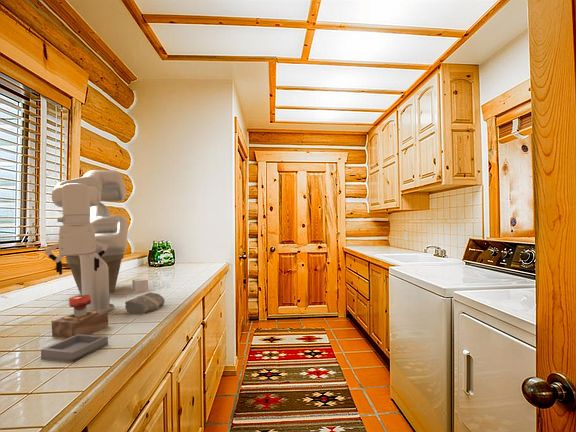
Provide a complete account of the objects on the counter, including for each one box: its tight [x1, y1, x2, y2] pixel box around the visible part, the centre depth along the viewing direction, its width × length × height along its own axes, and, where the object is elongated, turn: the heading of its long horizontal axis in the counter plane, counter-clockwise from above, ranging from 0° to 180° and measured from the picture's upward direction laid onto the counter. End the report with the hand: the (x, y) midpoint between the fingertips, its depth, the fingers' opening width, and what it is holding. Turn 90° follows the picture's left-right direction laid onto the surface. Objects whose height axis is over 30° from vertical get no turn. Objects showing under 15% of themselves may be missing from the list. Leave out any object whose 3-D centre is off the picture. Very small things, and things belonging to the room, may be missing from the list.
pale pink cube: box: [131, 277, 149, 294], centre depth 158 cm, size 6×6×6 cm
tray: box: [40, 334, 109, 363], centre depth 87 cm, size 11×11×2 cm
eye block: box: [51, 311, 109, 339], centre depth 103 cm, size 11×11×6 cm
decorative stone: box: [124, 292, 166, 315], centre depth 125 cm, size 13×10×6 cm
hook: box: [68, 294, 91, 318], centre depth 103 cm, size 6×6×12 cm
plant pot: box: [65, 252, 125, 295], centre depth 156 cm, size 25×25×22 cm
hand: (78, 272), depth 102 cm, fingers open, 9 cm apart
